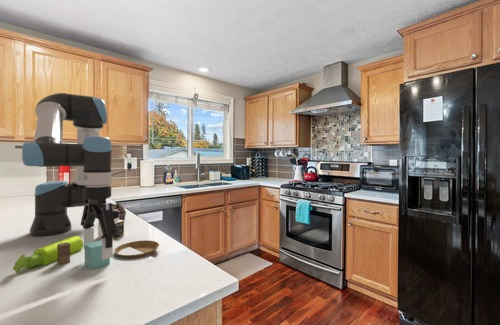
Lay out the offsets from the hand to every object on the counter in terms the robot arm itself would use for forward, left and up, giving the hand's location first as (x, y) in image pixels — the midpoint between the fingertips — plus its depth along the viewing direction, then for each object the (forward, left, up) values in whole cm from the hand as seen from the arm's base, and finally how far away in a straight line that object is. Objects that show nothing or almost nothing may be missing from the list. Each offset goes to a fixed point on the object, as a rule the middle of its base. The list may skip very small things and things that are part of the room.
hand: (97, 252), depth 77 cm
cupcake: (-53, +30, -5) cm, 61 cm away
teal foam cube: (0, 0, -4) cm, 4 cm away
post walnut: (-10, -6, -5) cm, 13 cm away
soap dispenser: (-20, +1, -1) cm, 20 cm away
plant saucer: (-1, +14, -5) cm, 15 cm away
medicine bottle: (-27, +16, -5) cm, 32 cm away
